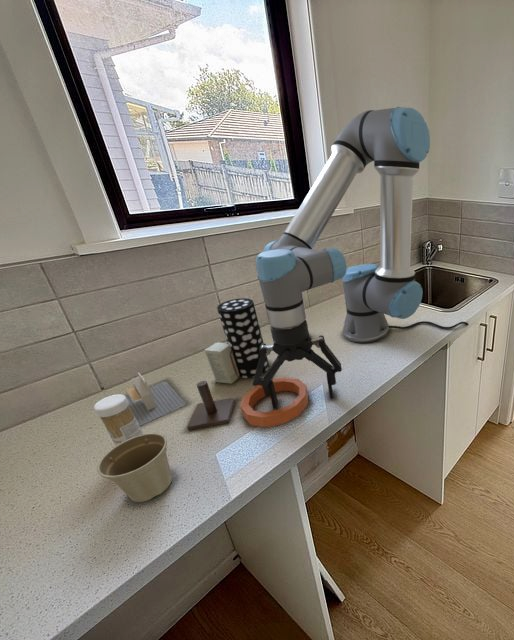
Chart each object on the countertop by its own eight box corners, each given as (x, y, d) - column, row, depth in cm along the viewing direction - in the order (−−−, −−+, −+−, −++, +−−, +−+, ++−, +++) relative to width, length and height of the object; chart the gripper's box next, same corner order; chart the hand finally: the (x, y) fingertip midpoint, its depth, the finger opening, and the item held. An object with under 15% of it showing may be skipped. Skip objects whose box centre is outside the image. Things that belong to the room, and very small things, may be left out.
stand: (235, 400, 82) (225, 370, 78) (228, 422, 76) (217, 391, 72) (198, 407, 80) (186, 376, 76) (188, 430, 73) (174, 398, 69)
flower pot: (109, 520, 55) (85, 485, 52) (128, 475, 63) (109, 442, 59) (176, 499, 59) (159, 465, 55) (186, 459, 66) (172, 426, 63)
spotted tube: (259, 378, 90) (241, 311, 81) (230, 377, 91) (209, 310, 82) (274, 361, 98) (259, 298, 89) (247, 360, 98) (229, 297, 90)
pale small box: (243, 374, 92) (233, 343, 87) (231, 384, 88) (220, 352, 84) (226, 372, 93) (216, 341, 88) (214, 381, 89) (203, 349, 85)
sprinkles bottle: (117, 458, 67) (87, 405, 61) (142, 441, 71) (115, 390, 65) (131, 465, 65) (102, 412, 59) (156, 448, 69) (130, 396, 63)
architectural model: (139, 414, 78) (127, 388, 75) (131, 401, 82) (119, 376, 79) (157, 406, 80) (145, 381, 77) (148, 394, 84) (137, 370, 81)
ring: (308, 382, 89) (306, 373, 87) (307, 419, 77) (305, 409, 75) (249, 393, 85) (246, 383, 84) (239, 432, 73) (235, 422, 71)
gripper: (344, 308, 79) (352, 382, 89) (229, 322, 73) (252, 400, 82) (347, 322, 73) (356, 399, 82) (221, 338, 66) (247, 420, 76)
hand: (304, 400), depth 82 cm, fingers open, 12 cm apart
